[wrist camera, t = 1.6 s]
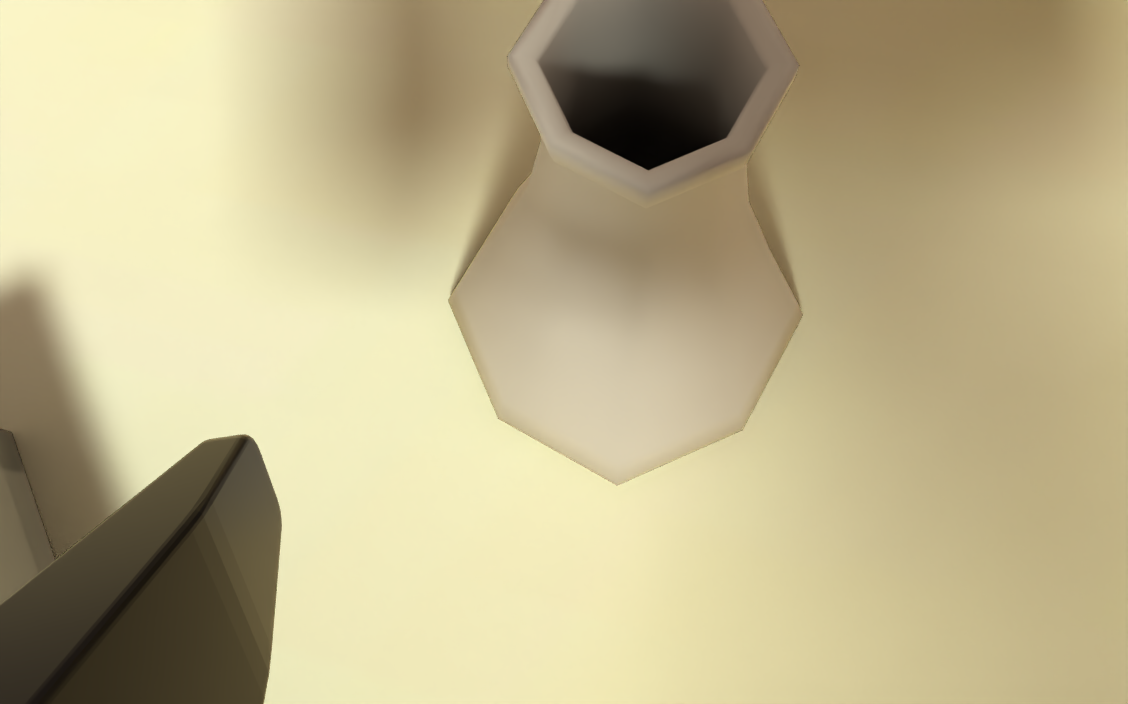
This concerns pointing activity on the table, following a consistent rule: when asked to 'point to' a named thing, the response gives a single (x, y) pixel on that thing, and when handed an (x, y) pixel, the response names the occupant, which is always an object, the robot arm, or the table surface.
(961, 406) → the table surface
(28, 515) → the grey compartment tray
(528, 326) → the flask
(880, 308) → the table surface
